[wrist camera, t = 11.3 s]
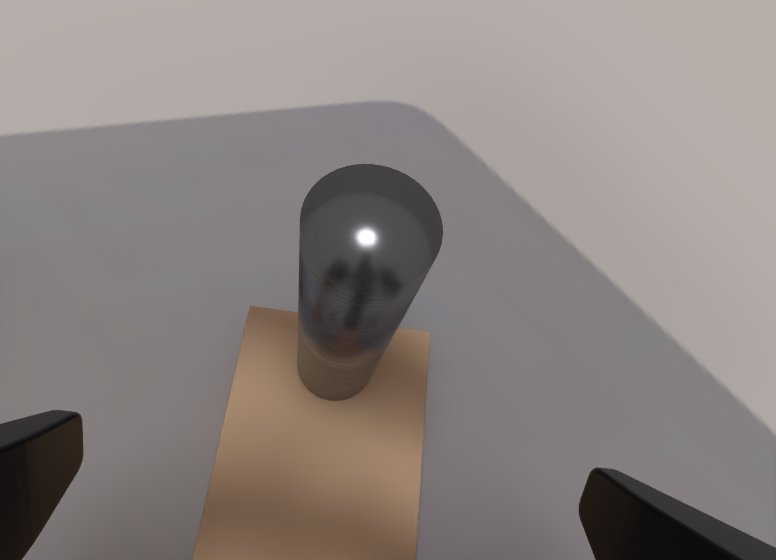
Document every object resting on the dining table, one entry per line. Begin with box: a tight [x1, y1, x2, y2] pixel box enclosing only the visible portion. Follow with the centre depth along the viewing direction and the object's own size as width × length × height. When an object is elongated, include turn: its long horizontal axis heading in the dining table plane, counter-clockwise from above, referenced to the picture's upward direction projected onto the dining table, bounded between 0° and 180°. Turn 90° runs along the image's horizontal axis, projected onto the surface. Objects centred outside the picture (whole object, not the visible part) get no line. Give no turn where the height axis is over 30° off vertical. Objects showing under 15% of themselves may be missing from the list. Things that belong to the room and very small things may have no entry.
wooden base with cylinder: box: [192, 164, 443, 560], centre depth 14 cm, size 18×8×13 cm, turn 175°
